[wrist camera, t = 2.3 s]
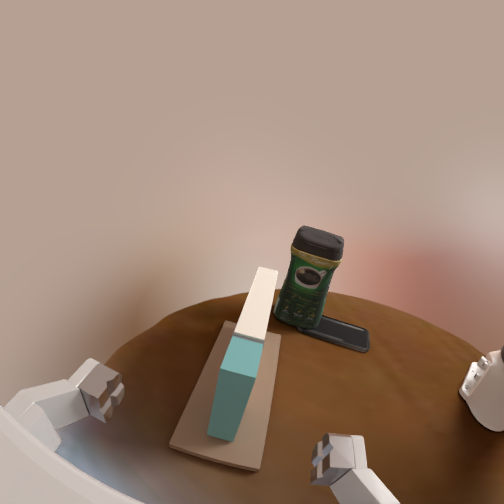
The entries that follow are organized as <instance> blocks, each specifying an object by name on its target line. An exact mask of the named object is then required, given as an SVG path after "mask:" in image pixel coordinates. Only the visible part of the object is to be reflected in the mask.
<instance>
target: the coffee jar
mask: <svg viewBox="0 0 504 504" xmlns="http://www.w3.org/2000/svg"><path fill="white" fill-rule="evenodd" d="M343 246H344V239H343V238H342V237H340V236H337V235H335V234H331V233H329V232H326V231H322V230H319V229H315V228H312V227H308V226H302V227H301V228H299V230H298V231H297V234H296V236H295V238H294V240H293V243H292V245H291V262H290V266H289V269H288V273H287V276H286V278H285V281H284V284H283V286H282V289H281V291H280V294H279V296H278V299H277V301H276V304H275V307H274V315H275V316H276V318H277V319H278V320H280V321H282V322H285V323H287V324H290V325H293V326H296V327H301V328H304V329H314V328H316V327H317V326H318V324H319V322H320V319H321V316H322V313H323V309H324V305H325V301H326V297H327V293H328V289H329V285H330V282H331V279H332V275H333V273H334V271H335V269H336V268H337V267H338V266H339V264H340V262H341V259H342V255H343Z"/></svg>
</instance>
